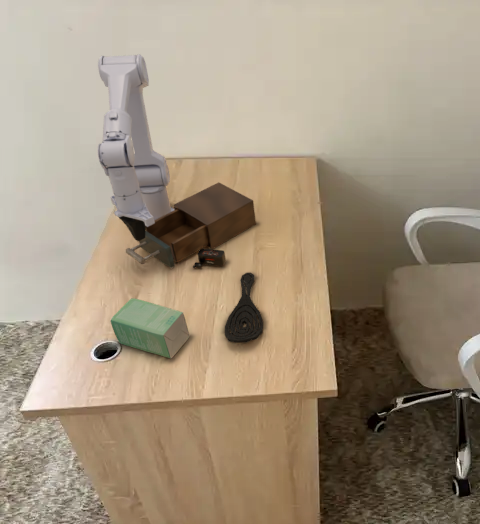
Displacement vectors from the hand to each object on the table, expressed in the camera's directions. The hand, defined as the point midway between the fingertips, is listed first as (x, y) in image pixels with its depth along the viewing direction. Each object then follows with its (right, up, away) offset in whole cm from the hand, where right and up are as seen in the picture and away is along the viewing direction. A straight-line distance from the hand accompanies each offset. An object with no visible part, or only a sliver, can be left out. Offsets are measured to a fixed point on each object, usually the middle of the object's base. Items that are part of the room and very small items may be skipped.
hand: (140, 238), depth 138 cm
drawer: (+4, -3, +9) cm, 10 cm away
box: (+8, -22, -14) cm, 28 cm away
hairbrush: (+27, -17, -7) cm, 32 cm away
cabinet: (+14, +4, +18) cm, 24 cm away
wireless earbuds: (+15, -6, +6) cm, 17 cm away
